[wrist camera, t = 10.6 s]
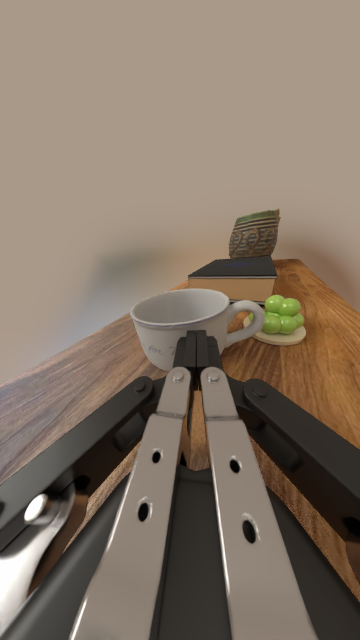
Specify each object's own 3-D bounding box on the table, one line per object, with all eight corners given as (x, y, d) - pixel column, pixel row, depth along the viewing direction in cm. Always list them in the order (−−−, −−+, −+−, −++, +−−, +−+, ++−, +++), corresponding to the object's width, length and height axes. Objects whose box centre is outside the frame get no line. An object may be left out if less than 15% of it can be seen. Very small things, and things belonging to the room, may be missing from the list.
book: (189, 301, 34) (187, 275, 31) (215, 277, 53) (215, 259, 49) (269, 309, 26) (277, 274, 23) (266, 277, 45) (270, 256, 41)
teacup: (130, 370, 17) (105, 315, 13) (171, 325, 25) (164, 283, 21) (253, 421, 11) (278, 347, 7) (255, 340, 19) (267, 285, 15)
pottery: (222, 272, 59) (225, 216, 49) (233, 265, 72) (236, 219, 62) (269, 272, 50) (283, 204, 40) (272, 264, 62) (284, 210, 52)
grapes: (265, 351, 17) (275, 314, 14) (233, 321, 24) (236, 292, 21) (320, 339, 18) (340, 301, 15) (274, 313, 25) (282, 284, 22)
